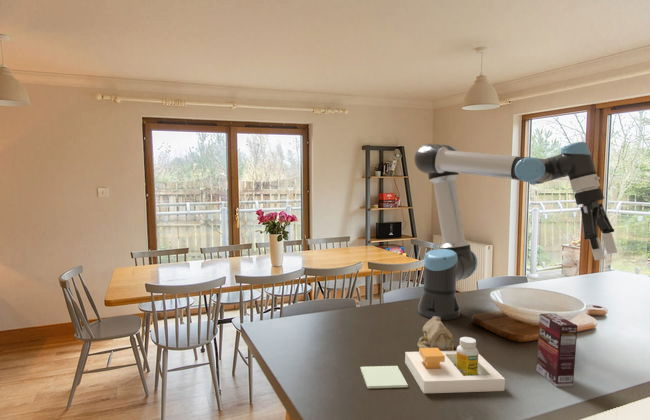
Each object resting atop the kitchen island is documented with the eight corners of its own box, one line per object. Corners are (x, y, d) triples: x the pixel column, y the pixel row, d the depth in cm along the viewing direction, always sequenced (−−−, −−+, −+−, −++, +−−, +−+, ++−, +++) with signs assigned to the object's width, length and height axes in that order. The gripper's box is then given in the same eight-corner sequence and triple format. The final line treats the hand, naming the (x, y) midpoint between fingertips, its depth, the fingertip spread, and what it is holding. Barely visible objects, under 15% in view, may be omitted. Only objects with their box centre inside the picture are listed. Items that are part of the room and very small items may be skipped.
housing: (405, 362, 113) (405, 352, 113) (474, 360, 115) (475, 350, 114) (423, 393, 97) (424, 381, 97) (504, 390, 99) (505, 378, 99)
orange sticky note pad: (418, 364, 108) (419, 348, 107) (437, 364, 108) (437, 347, 108) (424, 373, 103) (425, 356, 102) (444, 373, 103) (444, 356, 103)
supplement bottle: (464, 368, 110) (466, 334, 109) (481, 377, 106) (483, 341, 105) (451, 373, 107) (452, 338, 106) (468, 382, 103) (470, 345, 102)
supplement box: (535, 370, 109) (538, 313, 108) (552, 370, 110) (556, 312, 108) (555, 387, 101) (560, 325, 99) (574, 387, 101) (578, 324, 100)
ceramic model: (414, 339, 129) (415, 308, 128) (449, 340, 129) (450, 309, 128) (423, 359, 115) (425, 325, 114) (463, 360, 115) (465, 326, 114)
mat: (360, 368, 109) (360, 366, 109) (397, 367, 110) (397, 365, 110) (367, 388, 99) (367, 386, 99) (407, 387, 100) (407, 384, 100)
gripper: (587, 188, 119) (609, 260, 116) (611, 185, 135) (630, 249, 132) (560, 195, 124) (580, 264, 121) (586, 191, 141) (604, 252, 138)
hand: (606, 256), depth 127 cm, fingers open, 13 cm apart
